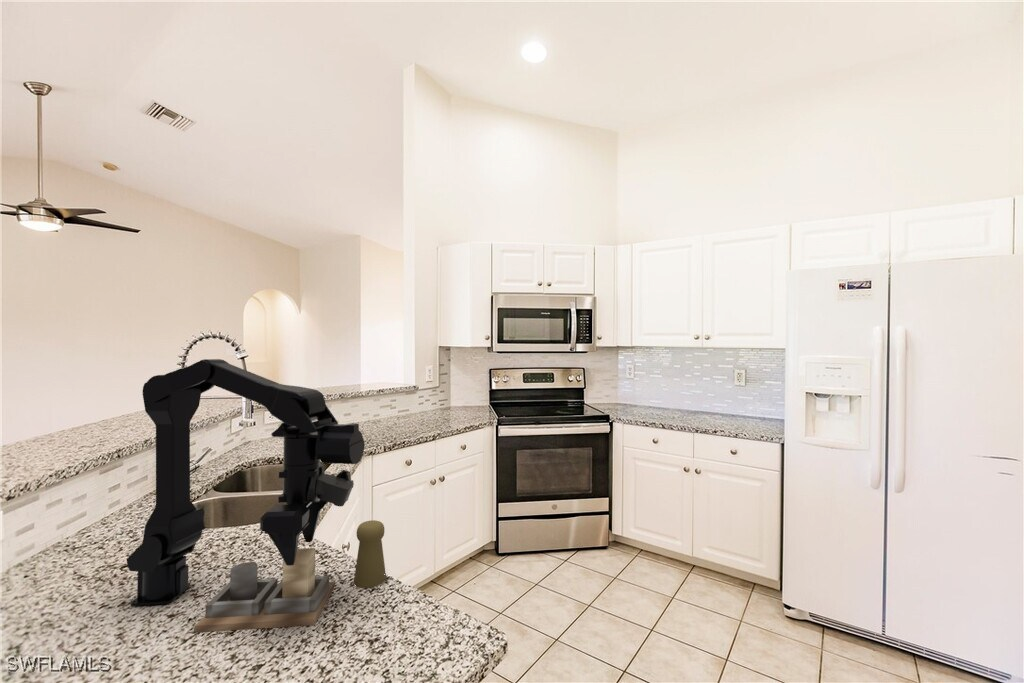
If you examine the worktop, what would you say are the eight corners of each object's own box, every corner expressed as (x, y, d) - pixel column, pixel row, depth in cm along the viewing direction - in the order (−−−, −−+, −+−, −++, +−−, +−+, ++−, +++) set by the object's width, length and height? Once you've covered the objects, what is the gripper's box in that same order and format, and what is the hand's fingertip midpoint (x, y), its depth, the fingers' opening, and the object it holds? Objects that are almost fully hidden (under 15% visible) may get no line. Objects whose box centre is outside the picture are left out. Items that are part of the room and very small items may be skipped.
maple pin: (282, 607, 76) (282, 559, 76) (291, 594, 80) (291, 548, 80) (306, 605, 77) (307, 557, 77) (314, 593, 81) (315, 547, 81)
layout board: (194, 632, 71) (195, 586, 71) (232, 592, 83) (233, 553, 83) (314, 624, 73) (315, 580, 73) (334, 586, 85) (335, 549, 85)
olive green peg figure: (376, 589, 84) (377, 529, 84) (347, 586, 85) (348, 527, 85) (391, 574, 90) (392, 518, 90) (363, 571, 91) (364, 515, 91)
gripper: (334, 475, 71) (333, 576, 70) (360, 450, 89) (359, 530, 89) (259, 477, 69) (257, 580, 69) (301, 451, 88) (300, 532, 88)
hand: (300, 552), depth 79 cm, fingers open, 9 cm apart
